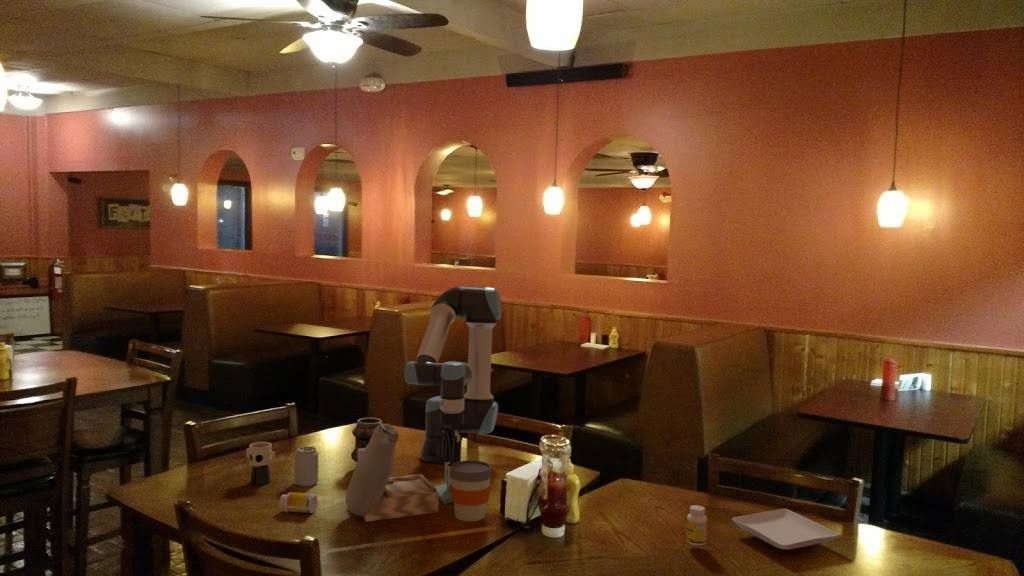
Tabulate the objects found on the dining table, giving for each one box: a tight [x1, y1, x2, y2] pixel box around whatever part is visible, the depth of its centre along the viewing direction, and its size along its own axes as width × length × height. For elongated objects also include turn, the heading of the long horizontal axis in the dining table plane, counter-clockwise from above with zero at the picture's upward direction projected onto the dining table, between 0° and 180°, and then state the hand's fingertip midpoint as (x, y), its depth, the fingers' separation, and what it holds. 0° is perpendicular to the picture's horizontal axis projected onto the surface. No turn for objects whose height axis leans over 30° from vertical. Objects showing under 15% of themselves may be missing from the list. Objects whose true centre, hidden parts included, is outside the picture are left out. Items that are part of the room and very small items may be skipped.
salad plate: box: [731, 508, 840, 550], centre depth 212 cm, size 21×21×3 cm
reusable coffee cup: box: [450, 459, 493, 522], centre depth 221 cm, size 13×12×15 cm
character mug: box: [245, 441, 276, 486], centre depth 245 cm, size 11×7×13 cm, turn 73°
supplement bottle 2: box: [685, 504, 708, 546], centre depth 206 cm, size 5×5×10 cm
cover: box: [434, 469, 454, 505], centre depth 238 cm, size 12×12×8 cm
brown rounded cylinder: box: [345, 423, 399, 517], centre depth 217 cm, size 10×10×28 cm
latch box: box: [361, 473, 439, 522], centre depth 226 cm, size 22×16×7 cm
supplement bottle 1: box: [279, 491, 319, 514], centre depth 221 cm, size 6×6×10 cm
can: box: [294, 446, 319, 488], centre depth 245 cm, size 8×8×12 cm
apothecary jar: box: [350, 417, 383, 463], centre depth 261 cm, size 12×12×18 cm
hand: (450, 483), depth 237 cm, fingers open, 3 cm apart
